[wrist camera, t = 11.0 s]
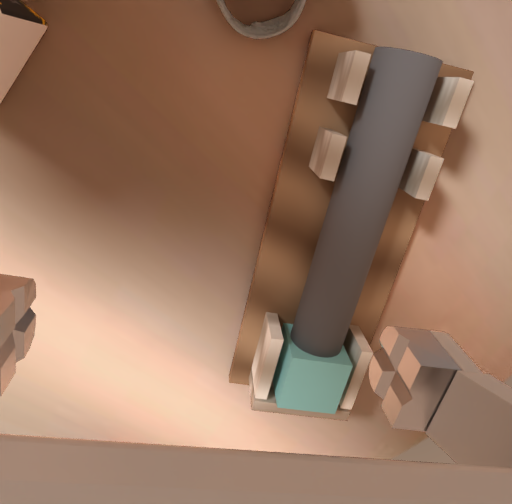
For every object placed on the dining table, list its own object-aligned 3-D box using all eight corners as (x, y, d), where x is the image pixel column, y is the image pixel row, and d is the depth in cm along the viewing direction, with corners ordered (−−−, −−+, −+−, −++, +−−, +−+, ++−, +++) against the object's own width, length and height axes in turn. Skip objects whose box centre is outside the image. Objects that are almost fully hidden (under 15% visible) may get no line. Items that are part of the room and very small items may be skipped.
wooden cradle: (312, 31, 30) (329, 23, 25) (466, 71, 31) (508, 71, 27) (228, 375, 40) (230, 414, 36) (347, 390, 42) (362, 428, 38)
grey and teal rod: (361, 47, 29) (388, 43, 25) (427, 64, 30) (465, 63, 25) (270, 368, 39) (277, 407, 35) (321, 375, 40) (334, 414, 35)
